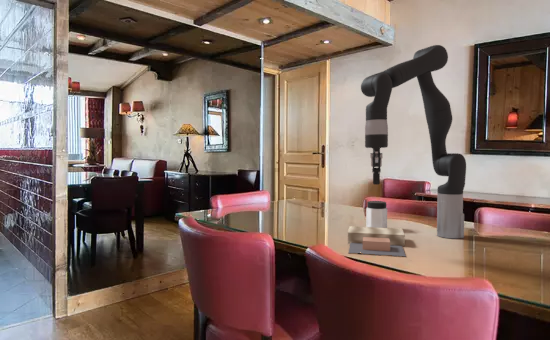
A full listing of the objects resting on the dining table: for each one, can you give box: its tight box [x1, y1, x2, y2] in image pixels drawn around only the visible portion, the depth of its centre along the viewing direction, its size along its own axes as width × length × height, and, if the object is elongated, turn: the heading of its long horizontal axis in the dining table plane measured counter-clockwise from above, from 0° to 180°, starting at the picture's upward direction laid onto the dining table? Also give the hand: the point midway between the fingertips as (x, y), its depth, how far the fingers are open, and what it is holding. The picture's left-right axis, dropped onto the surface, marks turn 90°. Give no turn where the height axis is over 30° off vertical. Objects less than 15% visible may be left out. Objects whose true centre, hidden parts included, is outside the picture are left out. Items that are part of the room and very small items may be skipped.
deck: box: [347, 225, 406, 247], centre depth 136 cm, size 20×12×4 cm, turn 75°
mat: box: [348, 243, 407, 258], centre depth 124 cm, size 18×14×1 cm
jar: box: [365, 200, 388, 228], centre depth 159 cm, size 9×8×12 cm
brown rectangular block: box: [363, 237, 390, 251], centre depth 125 cm, size 9×6×3 cm, turn 75°
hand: (376, 184), depth 123 cm, fingers closed
